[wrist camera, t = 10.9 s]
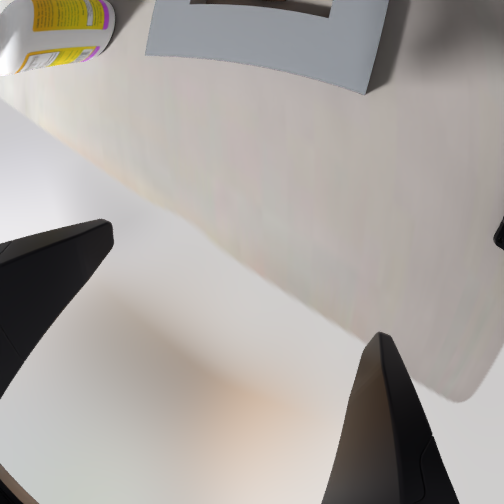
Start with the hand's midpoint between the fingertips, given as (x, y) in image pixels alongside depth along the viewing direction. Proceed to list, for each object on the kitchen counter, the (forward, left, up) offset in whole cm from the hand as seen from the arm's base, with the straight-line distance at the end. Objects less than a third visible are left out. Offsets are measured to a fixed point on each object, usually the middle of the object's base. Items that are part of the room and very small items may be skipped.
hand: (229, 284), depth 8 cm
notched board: (+5, -12, -13) cm, 18 cm away
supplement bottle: (+22, -9, -13) cm, 27 cm away
